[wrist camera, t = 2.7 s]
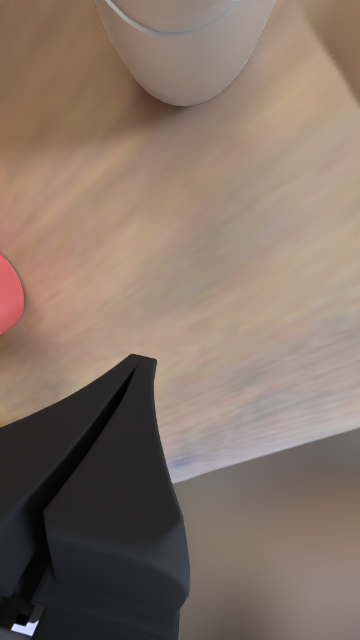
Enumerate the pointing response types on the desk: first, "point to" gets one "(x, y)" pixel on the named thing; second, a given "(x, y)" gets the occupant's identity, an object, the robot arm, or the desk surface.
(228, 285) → the desk surface
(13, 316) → the flower pot
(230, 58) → the plastic bottle
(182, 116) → the desk surface
